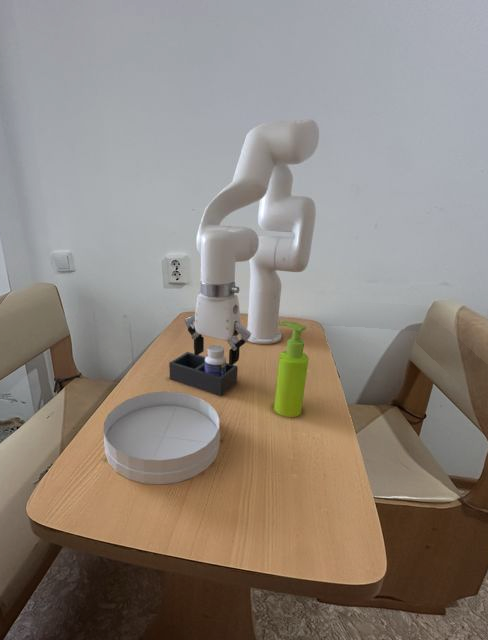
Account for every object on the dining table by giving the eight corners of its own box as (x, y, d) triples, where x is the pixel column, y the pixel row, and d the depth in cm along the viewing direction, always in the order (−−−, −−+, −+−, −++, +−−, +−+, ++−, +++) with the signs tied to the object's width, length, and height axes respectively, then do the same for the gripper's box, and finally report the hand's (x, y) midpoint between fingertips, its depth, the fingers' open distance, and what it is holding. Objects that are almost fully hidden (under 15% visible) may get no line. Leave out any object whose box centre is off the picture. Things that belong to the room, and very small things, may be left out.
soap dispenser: (279, 397, 87) (288, 316, 79) (306, 409, 83) (318, 325, 74) (264, 407, 83) (272, 323, 75) (291, 420, 79) (303, 332, 70)
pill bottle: (224, 387, 90) (225, 353, 86) (203, 385, 91) (203, 352, 87) (226, 376, 95) (227, 344, 91) (206, 375, 96) (206, 343, 92)
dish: (227, 417, 80) (227, 397, 78) (209, 493, 60) (210, 470, 58) (129, 405, 84) (127, 386, 82) (83, 473, 64) (79, 451, 62)
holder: (187, 367, 102) (187, 351, 100) (236, 382, 94) (237, 366, 92) (169, 378, 96) (169, 362, 94) (220, 396, 88) (221, 379, 86)
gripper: (260, 290, 81) (255, 361, 88) (194, 280, 90) (194, 345, 97) (244, 299, 75) (240, 373, 83) (176, 286, 84) (177, 355, 91)
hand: (215, 358), depth 90 cm, fingers open, 9 cm apart
